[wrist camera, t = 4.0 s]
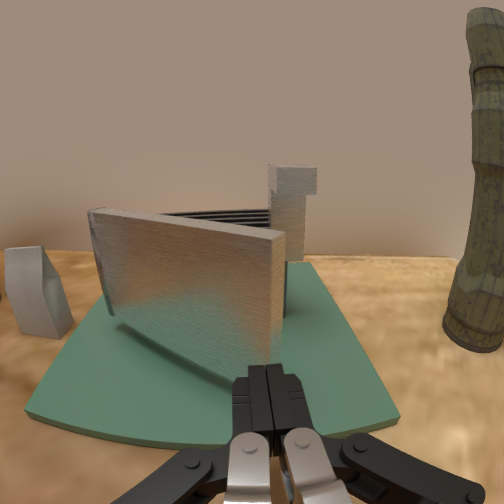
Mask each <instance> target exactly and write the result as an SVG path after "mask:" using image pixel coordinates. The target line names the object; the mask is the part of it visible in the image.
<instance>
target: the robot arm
mask: <svg viewBox="0 0 504 504" xmlns="http://www.w3.org/2000/svg"><path fill="white" fill-rule="evenodd" d="M0 298H1V294H0ZM232 428H233V433H232V437H231V439H230V441H229V442H228V443H227V444H226V445H224V446H223V447H221V448H218V449H215V450H211V451H207V452H205V451H203V450H201V449H199V448H185V449H183V450H181V451H179V452H178V453H176V454H175V455H174V456H173V457H172V458H170V459H169V460H168V461H167V462H166V463H164V464H163V465H162V466H161V467H159V468H158V469H157V470H156V471H154V472H153V473H152V474H150V475H149V476H148V477H147V478H145V479H144V480H143V481H141V482H140V483H139V484H137V485H136V486H135V487H133V488H132V489H130V490H129V491H128V492H126V493H125V494H123V495H122V496H121V497H119V498H118V499H116V500H115V501H113V502H112V503H110V504H208V503H209V502H210V501H211V500H212V499H213V498H214V497H215V496H216V495H217V494H219V493H223V492H225V496H224V504H271V493H270V472H269V463H270V457H272V452H273V457H275V456H279V460H280V475H281V479H282V483H283V487H284V491H285V495H286V499H287V502H288V504H352V502H351V499H350V497H349V494H351V495H353V496H355V497H356V498H358V499H360V500H362V501H364V502H365V503H367V504H483V503H484V500H485V490H484V488H483V487H482V485H480V484H478V483H475V482H473V481H470V480H467V479H464V478H462V477H459V476H457V475H454V474H452V473H449V472H447V471H444V470H442V469H439V468H437V467H435V466H432V465H430V464H428V463H426V462H423V461H421V460H419V459H417V458H415V457H413V456H411V455H408V454H406V453H404V452H402V451H400V450H398V449H396V448H394V447H392V446H390V445H388V444H386V443H384V442H383V441H381V440H379V439H377V438H375V437H373V436H371V435H369V434H367V433H354V434H351V435H350V436H348V437H347V438H346V439H338V438H328V437H325V436H323V435H321V434H319V433H318V432H317V431H316V430H315V428H314V426H313V423H312V419H311V416H310V412H309V408H308V405H307V401H306V397H305V394H304V390H303V386H302V383H301V380H300V379H299V378H298V377H297V376H296V375H295V374H294V373H292V374H284V370H283V366H282V363H277V364H265V366H264V365H248V377H236V379H235V381H234V383H233V385H232ZM348 493H349V494H348Z"/></svg>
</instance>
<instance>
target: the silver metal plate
mask: <svg viewBox="0 0 504 504" xmlns="http://www.w3.org/2000/svg"><path fill="white" fill-rule="evenodd" d="M87 216H88V223H89V228H90V234H91V240H92V246H93V251H94V256H95V261H96V265H97V270H98V274H99V278H100V283H101V287H102V291H103V294H104V298H105V302H106V306H107V309H108V313H109V315H111V316H115V317H116V318H118V319H120V320H121V321H123V322H124V323H126V324H127V325H129V326H131V327H132V328H134V329H136V330H137V331H139V332H141V333H142V334H144V335H146V336H147V337H149V338H151V339H152V340H154V341H156V342H158V343H159V344H161V345H163V346H165V347H167V348H168V349H170V350H172V351H174V352H176V353H178V354H179V355H181V356H183V357H185V358H187V359H189V360H191V361H193V362H195V363H197V364H199V365H201V366H203V367H205V368H207V369H209V370H211V371H213V372H215V373H217V374H219V375H221V376H224V377H226V378H228V379H230V380H232V381H235V379H236V377H248V365H264V366H265V364H277V363H280V362H281V344H282V324H283V301H284V272H285V232H284V231H277V230H271V229H264V228H257V227H250V226H243V225H236V224H229V223H222V222H214V221H207V220H199V219H192V218H184V217H176V216H168V215H160V214H151V213H143V212H135V211H126V210H117V209H108V208H104V207H103V208H96V209H92V210H89V211H87Z"/></svg>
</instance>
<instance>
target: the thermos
mask: <svg viewBox="0 0 504 504" xmlns="http://www.w3.org/2000/svg"><path fill="white" fill-rule="evenodd" d="M466 40H467V44H468V49H469V54H470V60H471V65H470V69H469V74H470V82H471V91H472V102H473V109H472V113H471V115H472V163H473V167H474V170H475V186H474V196H473V205H472V212H471V219H470V226H469V232H468V237H467V243H466V248H465V252H464V256H463V257H462V259H461V261H460V262H459V264H458V266H457V267H456V272H455V276H454V280H453V283H452V287H451V291H450V294H449V298H448V307H447V310H446V313H445V315H444V318H443V324H442V326H443V328H444V331H445V333H446V334H447V335H448V336H449V338H450V339H451V340H453V341H454V342H455V343H456V344H458V345H459V346H461V347H463V348H465V349H467V350H470V351H474V352H478V353H489V352H492V351H495V350H497V349H498V348H499V347H500V346H501V344H502V341H503V338H504V12H502V11H500V10H497V9H493V8H487V7H481V8H475V9H473V10H471V11H470V12H469V13H468V14H467V25H466Z"/></svg>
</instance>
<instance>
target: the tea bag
mask: <svg viewBox="0 0 504 504" xmlns="http://www.w3.org/2000/svg"><path fill="white" fill-rule="evenodd" d="M4 254H5V291H6V294H7V297H8V299H9V302H10V305H11V307H12V310H13V313H14V315H15V318H16V320H17V323H18V325H19V327H20V330H21V332H22V333H24V334H29V335H34V336H40V337H46V338H52V339H59V340H60V339H61V338H62V337H63V335H64V334H65V333H66V331H67V330H68V329H69V328H70V326H71V325H72V324H73V323H74V320H73V317H72V314H71V311H70V308H69V305H68V302H67V299H66V296H65V293H64V289H63V286H62V282H61V279H60V276H59V274H58V273H57V271H56V270H55V268H54V267H53V265H52V264H51V262H50V260H49V258H48V256H47V254H46V252H45V250H44V247H43V246H35V247H21V248H8V249H5V250H4Z"/></svg>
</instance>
